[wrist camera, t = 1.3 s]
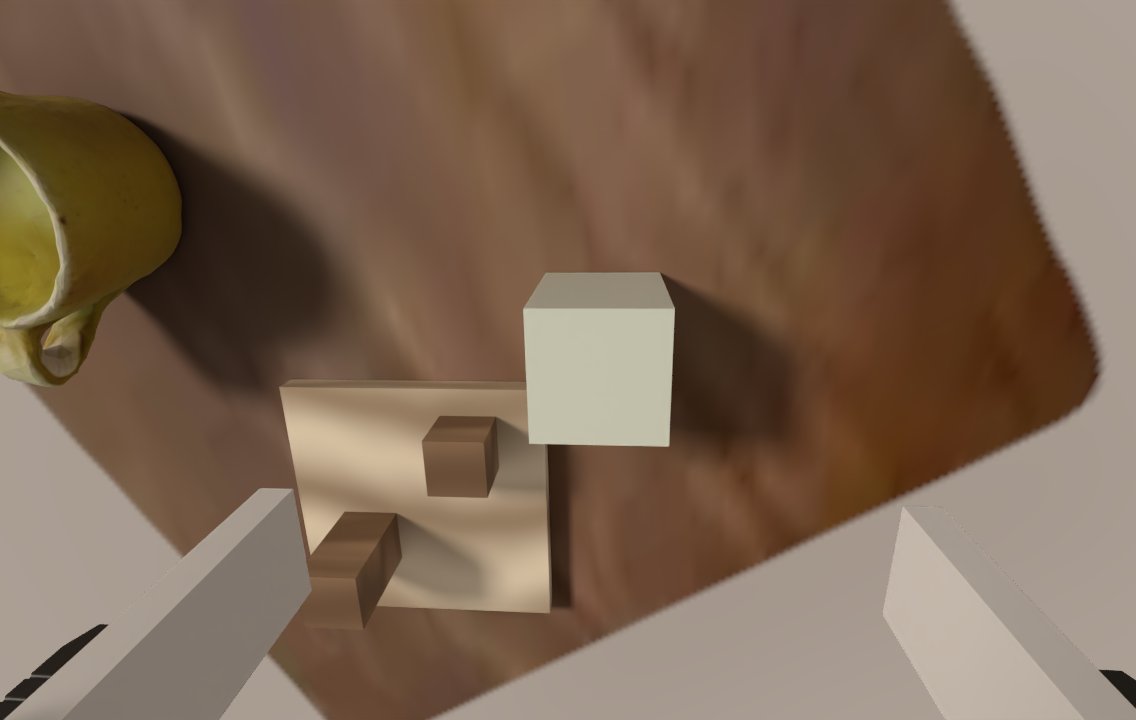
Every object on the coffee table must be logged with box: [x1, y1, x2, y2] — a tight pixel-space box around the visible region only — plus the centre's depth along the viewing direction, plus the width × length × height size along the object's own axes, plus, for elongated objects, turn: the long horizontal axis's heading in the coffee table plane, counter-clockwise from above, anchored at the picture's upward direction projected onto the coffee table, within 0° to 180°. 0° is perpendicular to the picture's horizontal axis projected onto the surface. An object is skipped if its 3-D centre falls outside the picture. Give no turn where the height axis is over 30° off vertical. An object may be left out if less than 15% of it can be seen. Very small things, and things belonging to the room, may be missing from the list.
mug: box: [0, 91, 182, 387], centre depth 26 cm, size 12×10×10 cm
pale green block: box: [523, 272, 675, 446], centre depth 26 cm, size 6×6×8 cm
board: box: [279, 379, 552, 613], centre depth 32 cm, size 14×14×4 cm
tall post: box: [300, 511, 402, 630], centre depth 31 cm, size 3×3×6 cm
